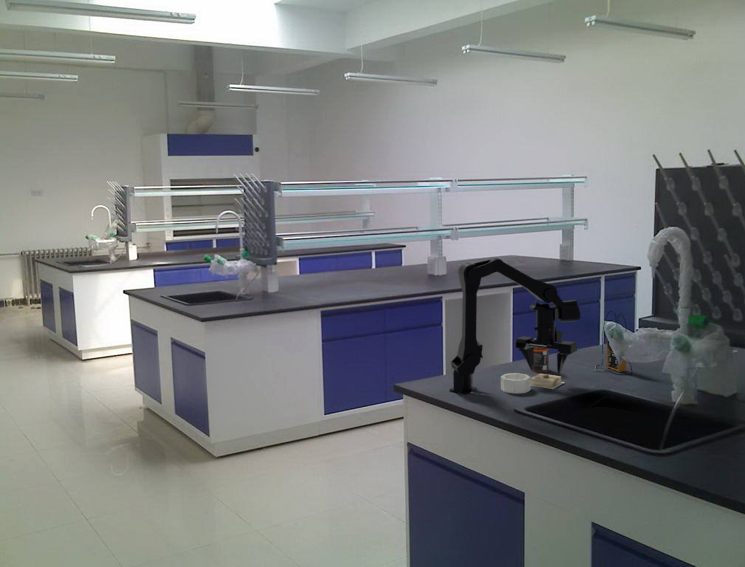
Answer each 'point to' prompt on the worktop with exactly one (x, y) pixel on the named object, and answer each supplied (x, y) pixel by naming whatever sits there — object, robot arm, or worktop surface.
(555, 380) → the lid
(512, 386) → the bowl
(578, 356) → the worktop surface
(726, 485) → the worktop surface
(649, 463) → the worktop surface
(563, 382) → the mat
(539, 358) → the supplement bottle
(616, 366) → the multimeter
